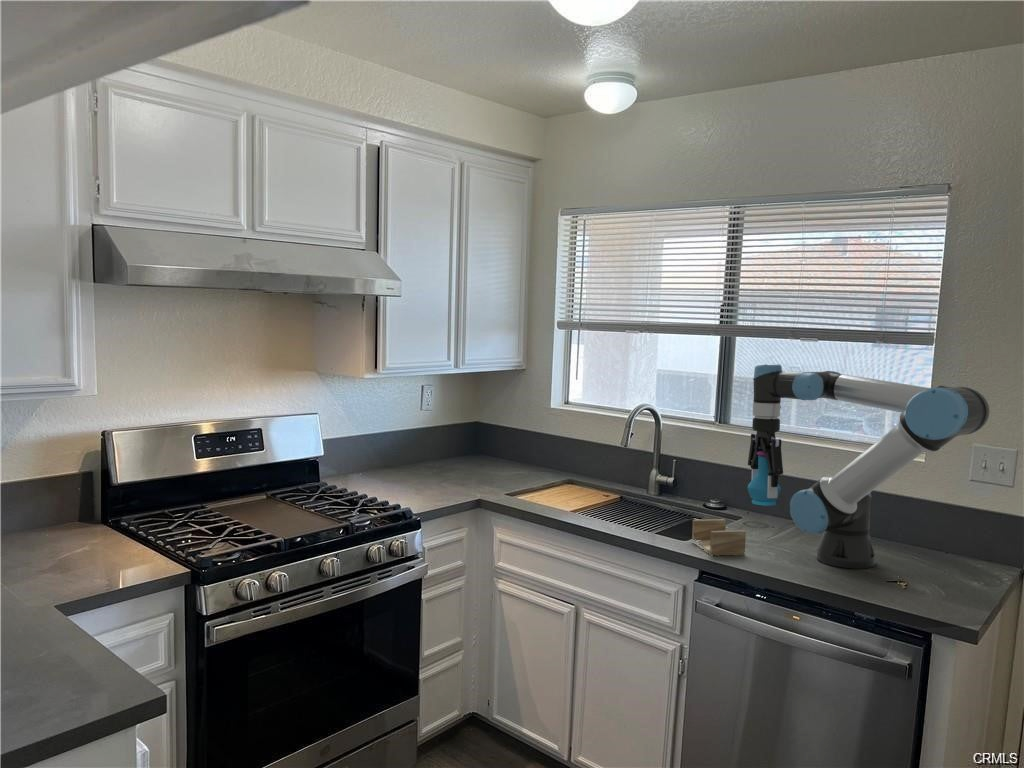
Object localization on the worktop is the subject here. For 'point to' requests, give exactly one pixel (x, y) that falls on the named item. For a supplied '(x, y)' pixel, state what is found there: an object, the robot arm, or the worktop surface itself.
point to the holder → (718, 537)
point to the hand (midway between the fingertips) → (763, 494)
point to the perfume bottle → (761, 483)
